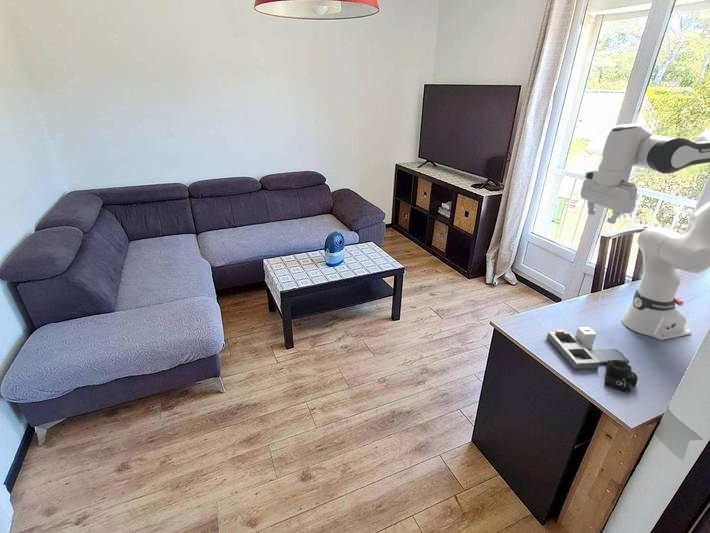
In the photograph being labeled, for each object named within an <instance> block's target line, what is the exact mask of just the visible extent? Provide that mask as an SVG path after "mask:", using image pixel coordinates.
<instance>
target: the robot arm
mask: <svg viewBox="0 0 710 533" xmlns="http://www.w3.org/2000/svg"><path fill="white" fill-rule="evenodd" d="M642 126H643V125H642V124H640V123H623V124H618V125H616V126H614V127H613V128H612V129H611V130H610V132H609V133H608V135H607V137H606V139H605V143H604V146H603V150H602V153H601V154H602V158H601V162H600V164H599V165H598V170H591V171H587V172H585V174H584V181H583V183H582V186H581V190H580V197H581V199H582V200H584V201H585V200H586V201H587V202H586V203H587V205H586V206H587V215H590V216H594V215H596V212H597V210H596V209H595V205H598V206H601V207H604V208H607V209H609V210H611V211H612V215H611V216H609V217H607V220H606V222H607V223H609V224H611V225H612V224H613V225H614V224H616V222H617V219H619V217H620V216H621V215H622V214H624V215H625V214H631V213H632V212H634V210H635V206H636V203H637V197H638V196H637V195H638V188H637V186H636V184H635V183H633V182H629V180H630V177H631V176H630V175H631V173H632V168H633V166H637V167H640V168H645V169H649V170H651V171H652V170H653V171H656V172H659V173H661V174H664V175H665V174H666V175H667V174H669V175H670V174H673V173H676V172H679V171H681V170H683V169H686V168H687V167H690V166H695V165H703V164H709V163H710V129H707V130H704V131H703V132H702V133H700V134H699V135H698V137H697V138H696V139H695V141H691V140H689V139H687V138H685V137H671V136H664V135H656V134H654V133H651V132H648V131H647V130H646V129H645V128H643V127H642ZM688 220H689V226H690V228H689V229H688V230H687V231H686V232H685V233H680V232H678V231H676V230H672V229H670V228H668V227H662V226H656V225H655V226H649V227H647V228H645V229H643V231H641V232H640V233H639V235H638V237H637V245H638V247H639V249H640V251H641V253H642V261H643V272H642V276H641V279H640V283H639V285H638V289H636V290H635V292H634V295H633V299H632V301H631V303H630V304H629V306H628V308H627V310H626V311H624V315H623V316H622V318H621V322H622V324H623V325H624V326H625V327H627V328H628V329H629V330H632V331H634V332H636V333H639V334H642V335H645V336H648V337H652V338H654V339H657V340H660V341H664V340H668V339H673V338H678V337H683V336H688V335H691V334H692V330H691V329H690V328H689V327H688V326H687V325H686V324H687V318H686V316H685V314H684V313H683V312H682V311H680V310H679V308H677V307H676V304H677V306H679V307H681V306H682V305H684V300H682V299H680V298H676V294H677V293H678V290H679V287H680V285H681V277H680V275H679V274H678V272H677V270H676V269H678V270H680V271H684V272H688V273H692V274H698V273H702V272H705V271H706V270H708V269H710V200H708V201H707V202H706V203H704V204H703V205H702V206H700V207H699V208H698V209H696V210H695V211H694V212H692V213H691V214H690V216H689V219H688Z"/></svg>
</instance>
